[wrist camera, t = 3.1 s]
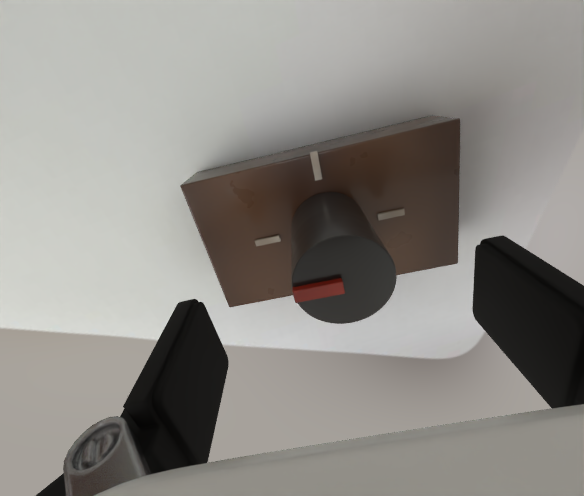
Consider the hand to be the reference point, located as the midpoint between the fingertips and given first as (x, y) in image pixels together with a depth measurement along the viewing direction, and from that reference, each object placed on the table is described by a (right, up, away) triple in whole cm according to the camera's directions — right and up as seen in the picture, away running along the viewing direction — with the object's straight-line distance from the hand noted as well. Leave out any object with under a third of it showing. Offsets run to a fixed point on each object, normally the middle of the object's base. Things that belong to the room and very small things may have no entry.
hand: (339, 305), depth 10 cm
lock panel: (0, +4, +9) cm, 10 cm away
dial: (0, +3, +6) cm, 7 cm away
